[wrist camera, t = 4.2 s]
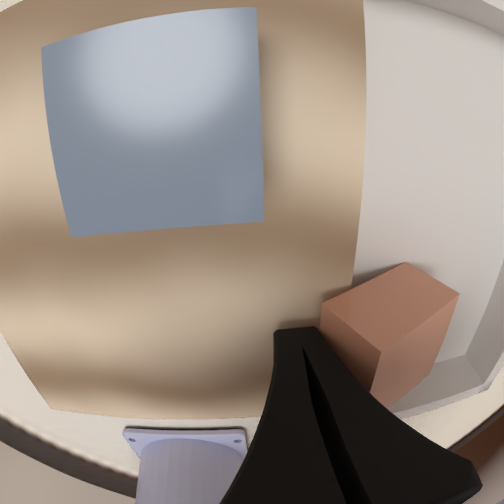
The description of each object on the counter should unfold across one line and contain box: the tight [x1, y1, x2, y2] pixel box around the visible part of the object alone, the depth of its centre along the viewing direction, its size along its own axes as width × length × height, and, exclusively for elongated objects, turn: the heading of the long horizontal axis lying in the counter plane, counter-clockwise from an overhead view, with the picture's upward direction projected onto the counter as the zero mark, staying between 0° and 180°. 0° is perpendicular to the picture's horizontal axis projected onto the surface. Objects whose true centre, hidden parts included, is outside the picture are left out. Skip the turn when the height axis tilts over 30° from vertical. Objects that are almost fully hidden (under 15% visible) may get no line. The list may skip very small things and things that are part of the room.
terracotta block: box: [320, 262, 460, 409], centre depth 10 cm, size 4×4×2 cm
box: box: [351, 0, 504, 419], centre depth 10 cm, size 17×9×4 cm, turn 2°
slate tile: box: [41, 7, 264, 238], centre depth 6 cm, size 4×4×2 cm
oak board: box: [0, 0, 366, 419], centre depth 10 cm, size 17×14×2 cm
